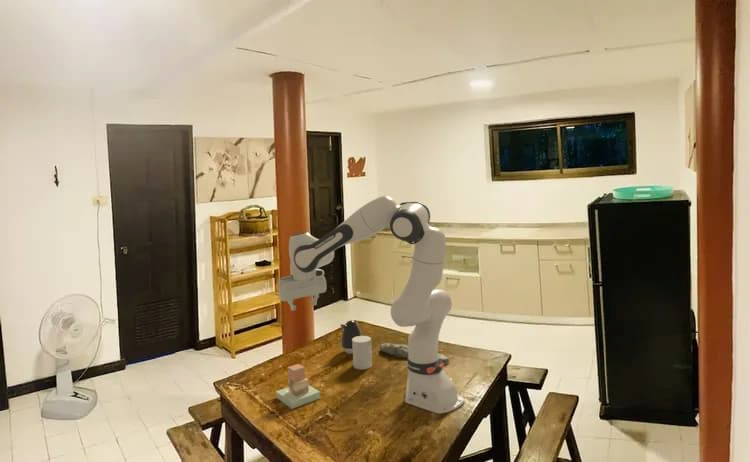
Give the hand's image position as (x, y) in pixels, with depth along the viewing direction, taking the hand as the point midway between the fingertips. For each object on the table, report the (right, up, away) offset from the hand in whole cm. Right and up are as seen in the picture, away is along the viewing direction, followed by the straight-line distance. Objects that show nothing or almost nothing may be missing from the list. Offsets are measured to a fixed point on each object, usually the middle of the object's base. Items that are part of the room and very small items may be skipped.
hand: (303, 307), depth 192 cm
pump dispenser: (+18, -27, +34) cm, 47 cm away
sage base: (-1, -33, -9) cm, 34 cm away
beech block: (-1, -30, -10) cm, 32 cm away
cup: (+23, -28, +18) cm, 41 cm away
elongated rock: (+45, -27, +26) cm, 59 cm away
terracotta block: (-1, -25, -10) cm, 27 cm away
